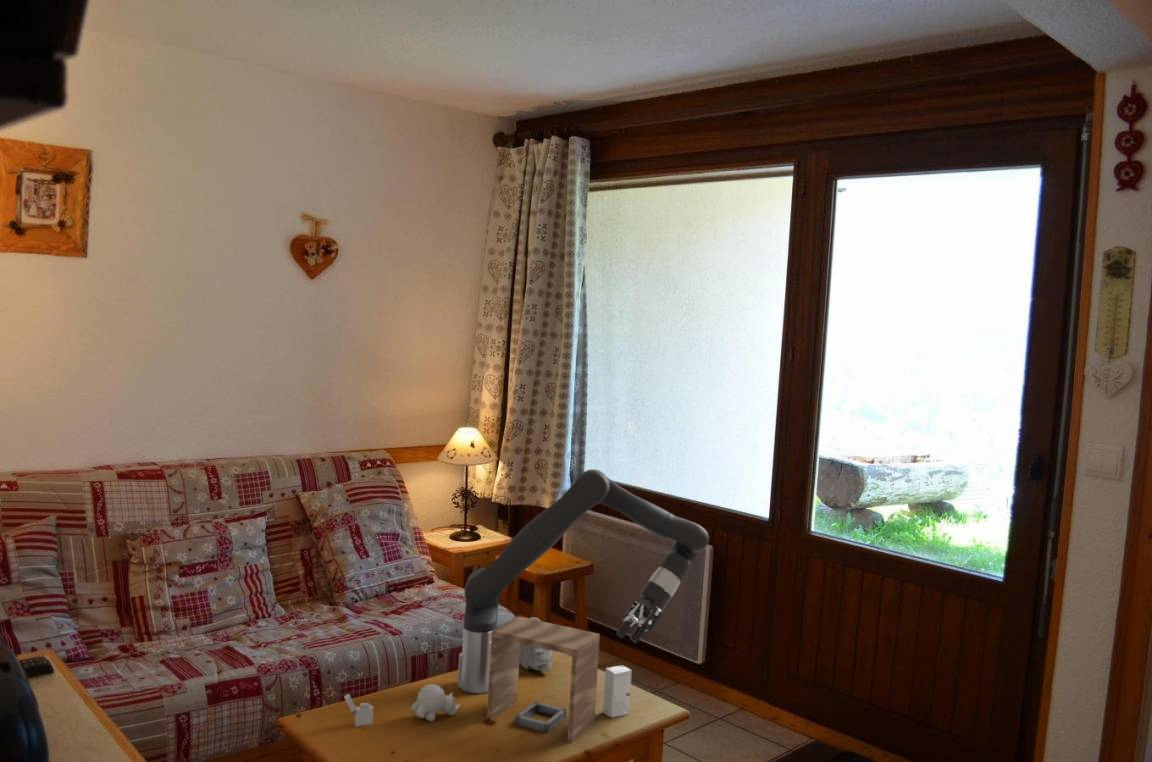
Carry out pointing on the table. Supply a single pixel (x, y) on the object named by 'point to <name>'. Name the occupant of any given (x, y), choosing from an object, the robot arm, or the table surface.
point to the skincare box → (617, 691)
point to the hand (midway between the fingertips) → (626, 638)
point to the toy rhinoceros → (433, 702)
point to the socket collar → (536, 724)
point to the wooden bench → (550, 638)
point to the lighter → (361, 712)
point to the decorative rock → (535, 656)
